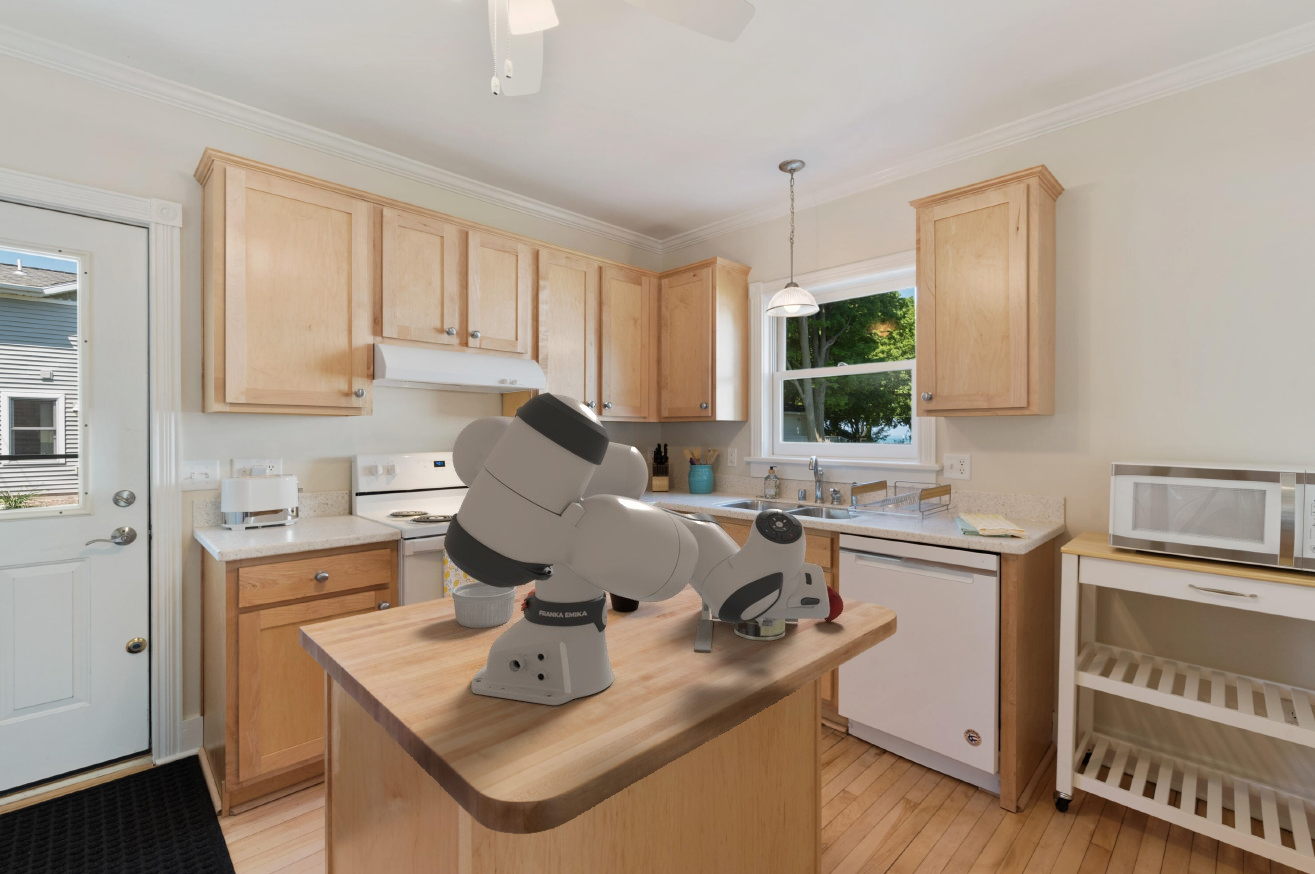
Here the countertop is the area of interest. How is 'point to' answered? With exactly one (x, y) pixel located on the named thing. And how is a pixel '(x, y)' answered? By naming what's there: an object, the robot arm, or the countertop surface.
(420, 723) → the countertop surface
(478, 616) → the ramekin
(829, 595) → the onion
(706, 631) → the door frame
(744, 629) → the coffee can
